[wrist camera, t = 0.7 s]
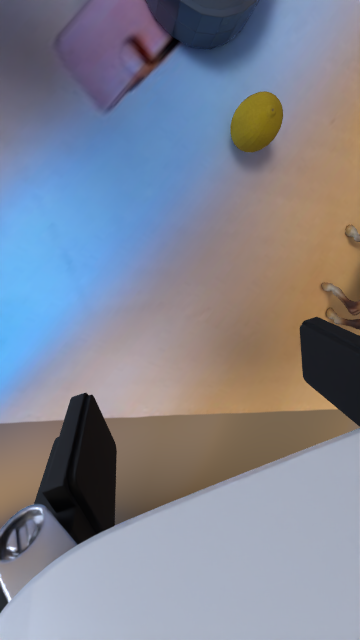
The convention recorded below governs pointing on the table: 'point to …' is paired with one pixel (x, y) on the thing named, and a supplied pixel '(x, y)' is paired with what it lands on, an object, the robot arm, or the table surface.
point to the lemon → (256, 121)
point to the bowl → (202, 19)
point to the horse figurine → (350, 305)
